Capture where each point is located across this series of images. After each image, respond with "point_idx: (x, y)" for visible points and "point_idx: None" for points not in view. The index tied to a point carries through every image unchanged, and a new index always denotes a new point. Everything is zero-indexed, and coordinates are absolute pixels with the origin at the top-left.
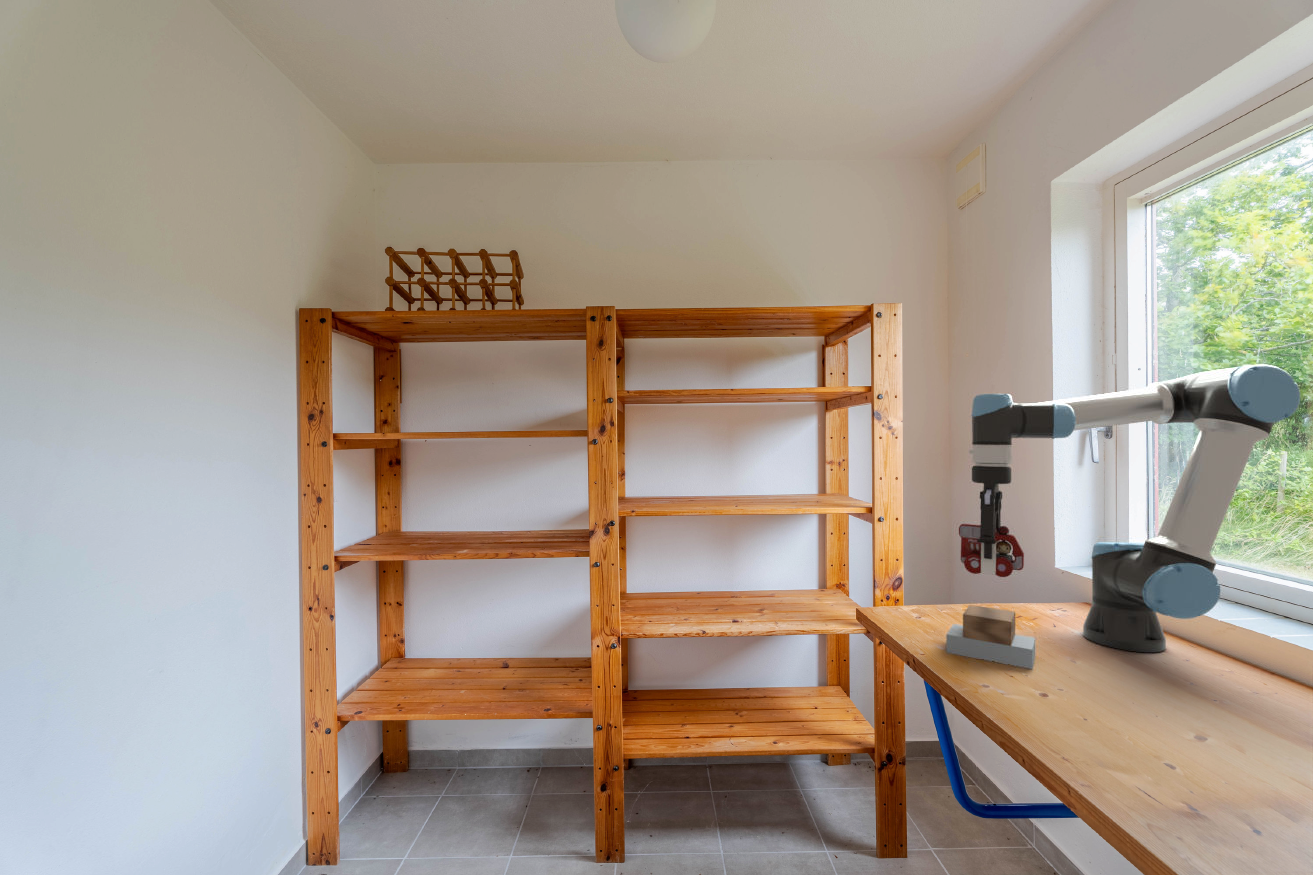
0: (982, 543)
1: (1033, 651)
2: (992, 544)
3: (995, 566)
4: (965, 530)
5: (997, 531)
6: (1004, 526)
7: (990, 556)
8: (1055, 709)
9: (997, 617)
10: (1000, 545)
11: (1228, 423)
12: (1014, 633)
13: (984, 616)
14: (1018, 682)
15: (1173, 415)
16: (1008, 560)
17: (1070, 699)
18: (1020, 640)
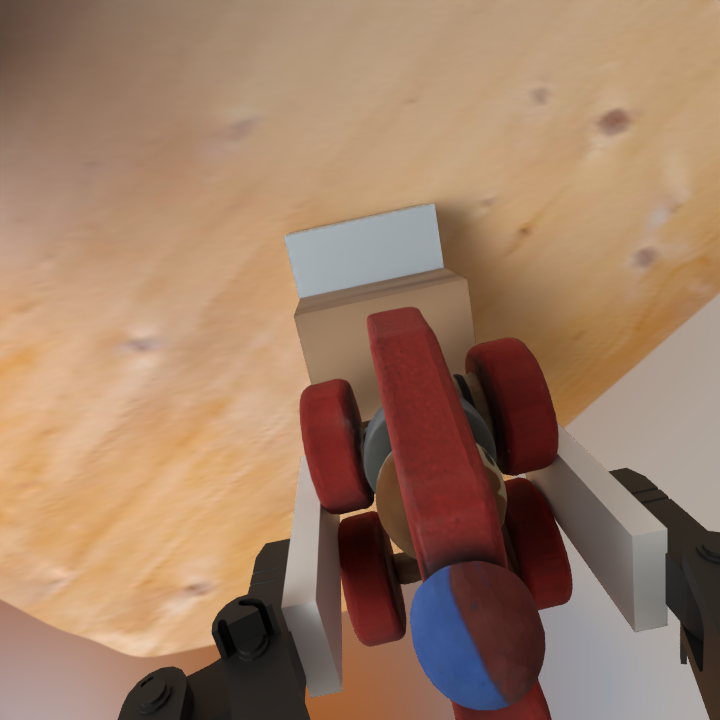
0: (661, 611)
1: (382, 214)
2: (662, 545)
3: (562, 429)
4: None
5: (298, 693)
6: (515, 675)
7: (645, 483)
8: (704, 67)
9: (440, 336)
10: (504, 515)
11: None
12: (326, 294)
13: (464, 373)
14: (562, 201)
15: None
16: (533, 386)
17: (603, 52)
18: (358, 263)
